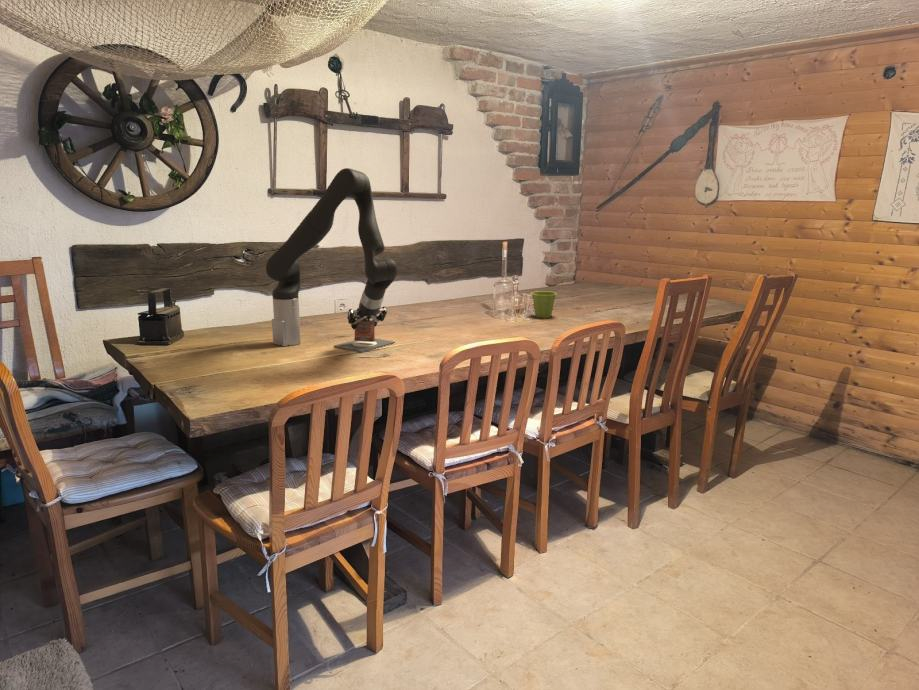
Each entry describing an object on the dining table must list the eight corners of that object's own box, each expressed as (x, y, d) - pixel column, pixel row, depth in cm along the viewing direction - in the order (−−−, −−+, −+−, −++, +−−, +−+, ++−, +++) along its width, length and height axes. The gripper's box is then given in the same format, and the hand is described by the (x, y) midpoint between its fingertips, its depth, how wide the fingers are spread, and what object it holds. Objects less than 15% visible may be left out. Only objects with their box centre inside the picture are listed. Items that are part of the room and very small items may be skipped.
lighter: (352, 340, 232) (351, 314, 230) (356, 338, 235) (355, 312, 233) (373, 342, 230) (372, 315, 228) (376, 340, 233) (376, 313, 231)
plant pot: (542, 313, 298) (543, 290, 295) (561, 317, 289) (562, 293, 286) (524, 316, 290) (525, 292, 288) (543, 320, 282) (544, 295, 279)
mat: (361, 352, 222) (361, 351, 222) (333, 347, 230) (333, 345, 230) (395, 343, 236) (394, 341, 236) (367, 338, 244) (367, 336, 244)
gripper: (388, 290, 224) (379, 316, 237) (349, 292, 218) (342, 319, 232) (393, 307, 221) (384, 333, 234) (353, 310, 215) (346, 336, 228)
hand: (363, 326), depth 233 cm, fingers closed on lighter, 7 cm apart
